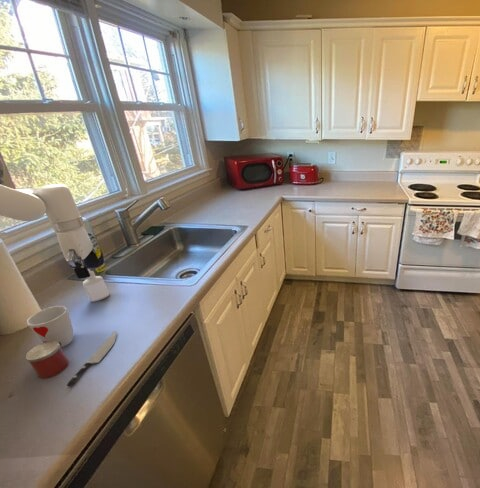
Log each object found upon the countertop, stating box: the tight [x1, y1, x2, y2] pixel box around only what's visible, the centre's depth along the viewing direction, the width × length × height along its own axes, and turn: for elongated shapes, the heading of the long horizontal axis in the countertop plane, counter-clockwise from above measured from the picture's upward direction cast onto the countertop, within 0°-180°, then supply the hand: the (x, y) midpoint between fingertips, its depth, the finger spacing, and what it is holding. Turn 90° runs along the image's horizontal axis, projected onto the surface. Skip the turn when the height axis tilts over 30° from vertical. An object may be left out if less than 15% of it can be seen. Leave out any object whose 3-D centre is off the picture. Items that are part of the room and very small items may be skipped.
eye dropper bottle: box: [82, 268, 110, 303], centre depth 98 cm, size 4×6×12 cm
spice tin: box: [25, 341, 69, 379], centre depth 72 cm, size 6×6×7 cm
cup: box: [26, 305, 74, 348], centre depth 79 cm, size 8×8×10 cm
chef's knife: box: [66, 331, 117, 387], centre depth 76 cm, size 19×1×3 cm
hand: (89, 270), depth 96 cm, fingers open, 9 cm apart
